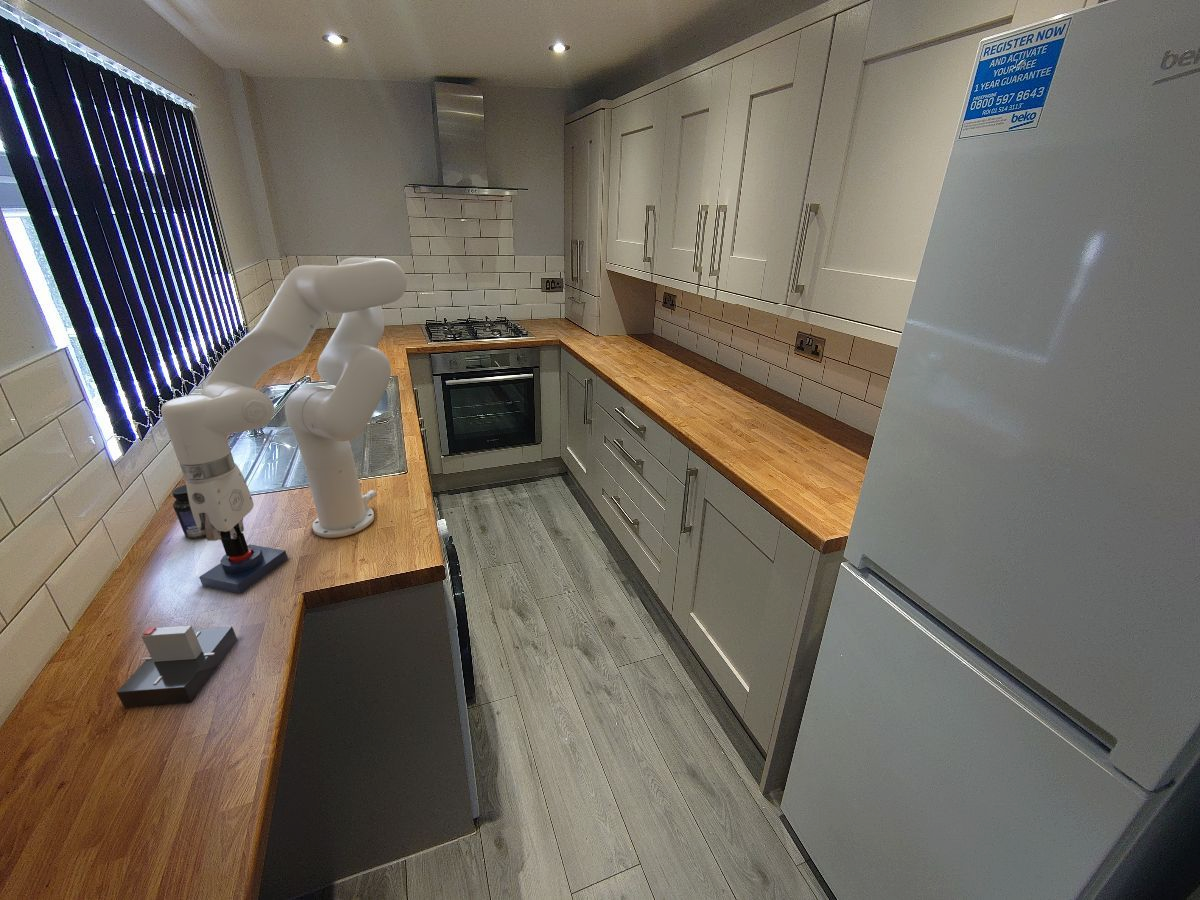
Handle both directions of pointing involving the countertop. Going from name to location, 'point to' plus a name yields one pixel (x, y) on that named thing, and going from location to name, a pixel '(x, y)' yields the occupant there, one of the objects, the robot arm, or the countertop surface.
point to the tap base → (178, 672)
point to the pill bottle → (186, 514)
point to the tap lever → (171, 643)
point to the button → (240, 558)
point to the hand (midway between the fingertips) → (237, 553)
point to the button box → (243, 570)
